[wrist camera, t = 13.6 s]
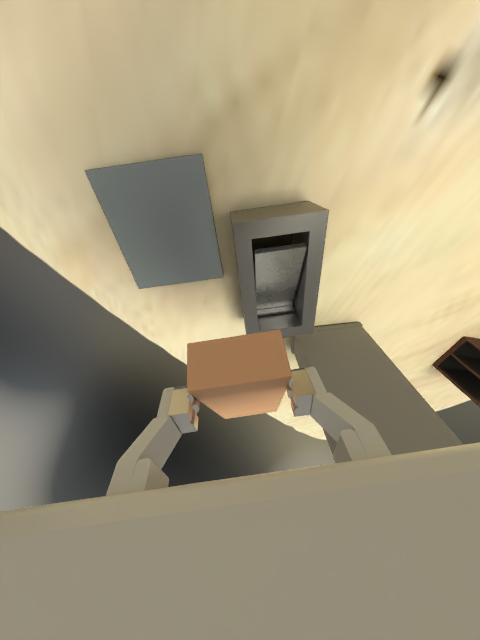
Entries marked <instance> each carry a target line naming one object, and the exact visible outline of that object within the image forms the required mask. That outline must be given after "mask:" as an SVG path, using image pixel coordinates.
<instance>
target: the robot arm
mask: <svg viewBox="0 0 480 640" xmlns="http://www.w3.org/2000/svg"><path fill="white" fill-rule="evenodd" d="M291 373H292V378H291V380H290V381H289V382H288V385H287V387H286V389H287V394H288V397H289V398H290V399H291V407H292V410H293V413H294V417H295V416H304V415H311V417H312V418H313V419H314V420H315V421H316V422H317V423H318V424H319V425H320V426H321V427H322V428H323V429H324V430H325V431H326V432H327V433H328V434H329V435H330V436H331V437H332V438H333V439H334V440H335V441H336V442H337V444H336V447H335V450H334V452H333V457H334V460H335V463H334V464H327V465H320V466H313V467H307V468H299V469H293V470H285V471H278V472H272V473H264V474H257V475H251V476H243V477H236V478H229V479H222V480H216V481H208V482H202V483H194V484H188V485H181V486H174V487H168V482H169V479H168V477H167V476H166V475H165V474H164V473H163V472H162V471H161V469H162V467H163V465H164V463H165V462H166V460H167V458H168V457H169V455H170V453H171V452H172V450H173V448H174V447H175V445H176V443H177V441H178V439H179V438H180V437H181V435H182V433H188V432H193V431H197V427H198V417H197V415H196V414H197V412H198V411H199V400H198V399H197V398H195V397H194V396H192V395H191V394H190V393H188V392H187V386H181V387H173V388H166V389H164V391H163V395H162V398H161V402H160V406H159V411H158V415H157V418H154V419H153V420H152V421H151V422H150V424H149V425H148V426H147V427H146V429H145V430H144V431H143V432H142V433H141V434H140V436H139V437H138V438H137V439H136V440H135V442H134V443H133V444H132V445H131V446H130V447H129V449H128V450H127V451H126V452H125V453H124V455H123V456H122V457H121V458H120V460H119V461H118V462H117V465H116V468H115V471H114V474H113V477H112V480H111V483H110V486H109V488H108V491H107V494H106V496H104V497H97V498H90V499H83V500H76V501H69V502H62V503H56V504H48V505H41V506H34V507H28V508H21V509H15V510H7V511H0V640H480V443H474V444H467V445H460V446H453V447H446V448H439V449H432V450H425V451H418V452H411V453H404V454H397V455H392V454H391V453H390V451H389V449H388V448H387V446H386V444H385V442H384V441H383V439H382V437H381V436H380V434H379V432H378V431H377V429H376V427H375V426H374V424H372V423H371V422H370V421H368V420H367V419H366V418H364V417H363V416H361V415H360V414H359V413H357V412H356V411H355V410H353V409H352V408H351V407H349V406H348V405H346V404H345V403H344V402H342V401H341V400H340V399H338V398H337V397H335V396H334V395H333V394H331V393H327V391H326V389H325V387H324V385H323V383H322V381H321V379H320V377H319V375H318V373H317V371H316V368H315V367H307V368H300V369H293V370H291Z"/></svg>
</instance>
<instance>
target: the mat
mask: <svg viewBox="0 0 480 640" xmlns="http://www.w3.org/2000/svg"><path fill="white" fill-rule="evenodd" d="M85 172H86V175H87V177H88V179H89V181H90V183H91V185H92V188H93V190H94V192H95V194H96V196H97V199H98V201H99V203H100V205H101V207H102V209H103V212H104V214H105V216H106V218H107V220H108V222H109V225H110V227H111V229H112V231H113V233H114V236H115V238H116V240H117V242H118V244H119V246H120V249H121V251H122V253H123V255H124V257H125V260H126V262H127V264H128V266H129V268H130V270H131V273H132V275H133V277H134V279H135V281H136V283H137V286H138V288H139V289H142V288H150V287H157V286H164V285H171V284H179V283H186V282H193V281H201V280H208V279H215V278H222V277H223V271H222V265H221V259H220V254H219V248H218V242H217V237H216V231H215V225H214V220H213V214H212V208H211V203H210V197H209V191H208V185H207V180H206V174H205V168H204V163H203V157H202V154H195V155H188V156H181V157H174V158H167V159H160V160H153V161H147V162H140V163H133V164H126V165H119V166H112V167H105V168H98V169H91V170H85Z"/></svg>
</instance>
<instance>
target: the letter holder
mask: <svg viewBox="0 0 480 640" xmlns="http://www.w3.org/2000/svg"><path fill="white" fill-rule="evenodd" d="M433 366H434V367H435V368H436V369H437V370H439V371H440V372H441V373H442V374H443V375H444V376H445V377H446V378H448V379H449V380H450V381H451V382H452V383H453V384H454V385H455V386H456V387H457V388H459V389H460V390H461V391H462V392H463V393H464V394H466V395H467V396H468V397H469V398H470V399H471V400H472V401H474V402H475V403H476V404H477V405H478V406H479V407H480V339H475V338H469V337H463V338H462V339H461V340H459V341H458V342H457V343H456V344H455V345H454V346H453V347H451V348H450V349H449V350H448V351H447V352H446V353H445V354H444V355H443V356H441V357H440V358H439V359H438V360H437V361H436V362H435V363H434V364H433Z"/></svg>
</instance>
